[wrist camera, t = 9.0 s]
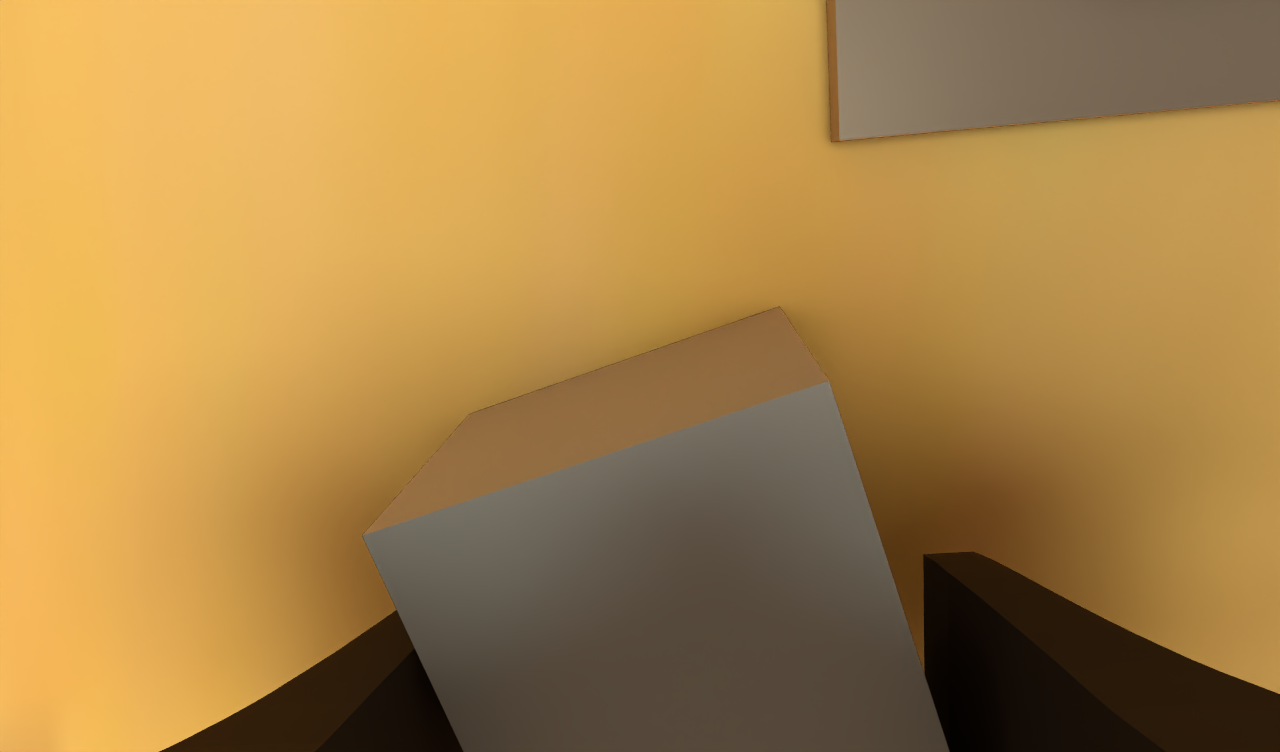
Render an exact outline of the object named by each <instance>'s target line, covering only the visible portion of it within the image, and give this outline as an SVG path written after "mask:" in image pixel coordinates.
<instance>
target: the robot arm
mask: <svg viewBox="0 0 1280 752" xmlns="http://www.w3.org/2000/svg"><path fill="white" fill-rule="evenodd" d="M923 564H924V669H925V678H926V681H927V684H928V687H929V690H930V693H931V696H932V699H933V702H934V705H935V708H936V712H937V715H938V718H939V721H940V724H941V727H942V730H943V733H944V736H945V739H946V742H947V745H948V749H949V752H1280V694H1278V693H1275V692H1272V691H1270V690H1267V689H1265V688H1262V687H1259V686H1257V685H1254V684H1251V683H1249V682H1246V681H1243V680H1241V679H1238V678H1236V677H1233V676H1230V675H1228V674H1225V673H1222V672H1220V671H1217V670H1215V669H1213V668H1210V667H1208V666H1205V665H1203V664H1201V663H1198V662H1196V661H1193V660H1191V659H1189V658H1187V657H1184V656H1182V655H1180V654H1178V653H1176V652H1173V651H1171V650H1169V649H1167V648H1165V647H1163V646H1160V645H1158V644H1156V643H1154V642H1152V641H1149V640H1147V639H1145V638H1143V637H1141V636H1139V635H1136V634H1134V633H1132V632H1130V631H1128V630H1126V629H1124V628H1122V627H1120V626H1118V625H1116V624H1114V623H1112V622H1110V621H1108V620H1106V619H1104V618H1102V617H1100V616H1098V615H1096V614H1094V613H1092V612H1090V611H1088V610H1086V609H1084V608H1083V607H1081V606H1079V605H1077V604H1075V603H1073V602H1071V601H1069V600H1067V599H1065V598H1064V597H1062V596H1060V595H1058V594H1056V593H1054V592H1052V591H1050V590H1049V589H1047V588H1045V587H1043V586H1041V585H1039V584H1037V583H1036V582H1034V581H1032V580H1030V579H1028V578H1026V577H1024V576H1023V575H1021V574H1019V573H1017V572H1015V571H1013V570H1011V569H1009V568H1007V567H1005V566H1004V565H1002V564H1000V563H998V562H996V561H994V560H992V559H989V558H987V557H985V556H983V555H980V554H978V553H975V552H959V553H941V554H923ZM160 752H463V750H462V747H461V745H460V743H459V741H458V739H457V737H456V735H455V733H454V730H453V728H452V726H451V724H450V722H449V720H448V718H447V716H446V713H445V711H444V709H443V707H442V705H441V703H440V701H439V699H438V696H437V694H436V692H435V690H434V688H433V686H432V684H431V682H430V679H429V677H428V675H427V673H426V671H425V669H424V667H423V665H422V662H421V660H420V658H419V656H418V654H417V652H416V650H415V648H414V645H413V643H412V641H411V639H410V637H409V635H408V633H407V631H406V628H405V626H404V624H403V622H402V620H401V618H400V616H399V614H398V611H397V610H396V611H395V612H393V613H392V614H390V615H389V616H387V617H386V618H385V619H383V620H382V621H380V622H379V623H377V624H376V625H374V626H373V627H371V628H370V629H369V630H367V631H366V632H364V633H363V634H361V635H360V636H358V637H357V638H355V639H354V640H353V641H351V642H350V643H348V644H347V645H345V646H344V647H342V648H341V649H339V650H338V651H336V652H335V653H333V654H332V655H330V656H329V657H327V658H325V659H324V660H322V661H321V662H319V663H318V664H316V665H314V666H313V667H311V668H310V669H308V670H306V671H305V672H303V673H302V674H300V675H298V676H297V677H295V678H294V679H292V680H291V681H289V682H287V683H286V684H284V685H283V686H281V687H279V688H278V689H276V690H275V691H273V692H272V693H270V694H268V695H266V696H265V697H263V698H261V699H260V700H258V701H256V702H254V703H253V704H251V705H249V706H247V707H246V708H244V709H242V710H240V711H238V712H237V713H235V714H233V715H231V716H229V717H227V718H226V719H224V720H222V721H220V722H218V723H216V724H214V725H212V726H210V727H208V728H206V729H204V730H202V731H200V732H199V733H197V734H195V735H193V736H191V737H189V738H187V739H185V740H183V741H181V742H179V743H177V744H175V745H173V746H171V747H169V748H166V749H164V750H162V751H160Z"/></svg>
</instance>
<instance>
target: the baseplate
mask: <svg viewBox="0 0 1280 752" xmlns="http://www.w3.org/2000/svg"><path fill="white" fill-rule="evenodd" d="M827 30H828V60H829V90H830V120H831V142H836V141H847V140H857V139H868V138H879V137H890V136H901V135H912V134H923V133H934V132H945V131H955V130H966V129H977V128H988V127H999V126H1010V125H1021V124H1032V123H1042V122H1053V121H1064V120H1075V119H1086V118H1097V117H1108V116H1119V115H1129V114H1140V113H1151V112H1162V111H1173V110H1184V109H1195V108H1206V107H1216V106H1227V105H1238V104H1249V103H1260V102H1271V101H1280V0H827Z"/></svg>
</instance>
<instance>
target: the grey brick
mask: <svg viewBox="0 0 1280 752" xmlns="http://www.w3.org/2000/svg"><path fill="white" fill-rule="evenodd" d="M362 537H363V539H364V541H365V543H366V545H367V548H368V550H369V552H370V554H371V556H372V558H373V560H374V562H375V565H376V567H377V569H378V571H379V573H380V575H381V577H382V579H383V582H384V584H385V586H386V588H387V590H388V592H389V594H390V596H391V599H392V601H393V603H394V605H395V607H396V609H397V611H398V614H399V616H400V618H401V620H402V622H403V624H404V626H405V628H406V631H407V633H408V635H409V637H410V639H411V641H412V643H413V645H414V648H415V650H416V652H417V654H418V656H419V658H420V660H421V662H422V665H423V667H424V669H425V671H426V673H427V675H428V677H429V679H430V682H431V684H432V686H433V688H434V690H435V692H436V694H437V696H438V699H439V701H440V703H441V705H442V707H443V709H444V711H445V713H446V716H447V718H448V720H449V722H450V724H451V726H452V728H453V730H454V733H455V735H456V737H457V739H458V741H459V743H460V745H461V747H462V750H463V752H949V749H948V745H947V742H946V739H945V736H944V733H943V730H942V727H941V724H940V721H939V718H938V715H937V712H936V708H935V705H934V702H933V699H932V696H931V693H930V690H929V687H928V684H927V681H926V678H925V675H924V671H923V668H922V665H921V662H920V659H919V656H918V653H917V650H916V647H915V644H914V641H913V638H912V634H911V631H910V628H909V625H908V622H907V619H906V616H905V613H904V610H903V607H902V604H901V601H900V598H899V594H898V591H897V588H896V585H895V582H894V579H893V576H892V573H891V570H890V567H889V564H888V561H887V557H886V554H885V551H884V548H883V545H882V542H881V539H880V536H879V533H878V530H877V527H876V524H875V520H874V517H873V514H872V511H871V508H870V505H869V502H868V499H867V496H866V493H865V490H864V487H863V483H862V480H861V477H860V474H859V471H858V468H857V465H856V462H855V459H854V456H853V453H852V450H851V446H850V443H849V440H848V437H847V434H846V431H845V428H844V425H843V422H842V419H841V416H840V413H839V409H838V406H837V403H836V400H835V397H834V394H833V391H832V388H831V385H830V382H829V380H828V378H827V377H826V375H825V374H824V372H823V371H822V369H821V368H820V366H819V365H818V363H817V362H816V360H815V359H814V357H813V356H812V354H811V353H810V351H809V350H808V348H807V347H806V345H805V344H804V342H803V341H802V340H801V338H800V337H799V335H798V334H797V332H796V331H795V329H794V328H793V326H792V325H791V323H790V322H789V320H788V319H787V317H786V316H785V314H784V313H783V311H782V310H781V308H780V307H777V308H774V309H771V310H768V311H765V312H762V313H759V314H757V315H754V316H751V317H748V318H745V319H742V320H739V321H736V322H734V323H731V324H728V325H725V326H722V327H719V328H716V329H713V330H710V331H708V332H705V333H702V334H699V335H696V336H693V337H690V338H687V339H684V340H682V341H679V342H676V343H673V344H670V345H667V346H664V347H661V348H659V349H656V350H653V351H650V352H647V353H644V354H641V355H638V356H635V357H633V358H630V359H627V360H624V361H621V362H618V363H615V364H612V365H610V366H607V367H604V368H601V369H598V370H595V371H592V372H589V373H586V374H584V375H581V376H578V377H575V378H572V379H569V380H566V381H563V382H561V383H558V384H555V385H552V386H549V387H546V388H543V389H540V390H537V391H535V392H532V393H529V394H526V395H523V396H520V397H517V398H514V399H511V400H509V401H506V402H503V403H500V404H497V405H494V406H491V407H488V408H486V409H483V410H480V411H477V412H474V413H471V414H469V415H468V416H467V417H466V419H465V420H464V421H463V422H462V423H461V424H460V425H459V427H458V428H457V429H456V430H455V431H454V432H453V433H452V434H451V436H450V437H449V438H448V439H447V440H446V441H445V442H444V444H443V445H442V446H441V447H440V448H439V449H438V450H437V451H436V453H435V454H434V455H433V456H432V457H431V458H430V459H429V461H428V462H427V463H426V464H425V465H424V466H423V467H422V468H421V470H420V471H419V472H418V473H417V474H416V475H415V476H414V478H413V479H412V480H411V481H410V482H409V483H408V484H407V485H406V487H405V488H404V489H403V490H402V491H401V492H400V493H399V494H398V496H397V497H396V498H395V499H394V500H393V501H392V502H391V504H390V505H389V506H388V507H387V508H386V509H385V510H384V511H383V513H382V514H381V515H380V516H379V517H378V518H377V519H376V521H375V522H374V523H373V524H372V525H371V526H370V527H369V528H368V530H367V531H366V532H365V533H364V534H363V535H362Z"/></svg>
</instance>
